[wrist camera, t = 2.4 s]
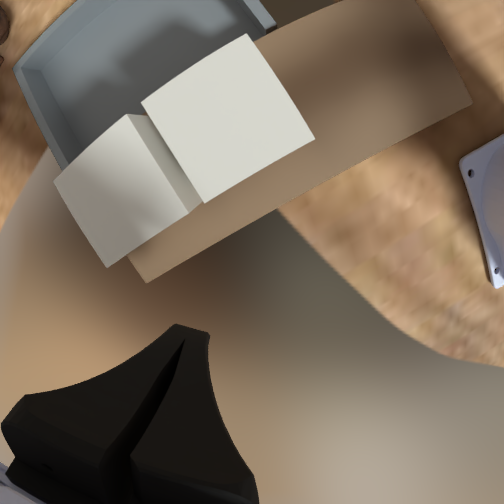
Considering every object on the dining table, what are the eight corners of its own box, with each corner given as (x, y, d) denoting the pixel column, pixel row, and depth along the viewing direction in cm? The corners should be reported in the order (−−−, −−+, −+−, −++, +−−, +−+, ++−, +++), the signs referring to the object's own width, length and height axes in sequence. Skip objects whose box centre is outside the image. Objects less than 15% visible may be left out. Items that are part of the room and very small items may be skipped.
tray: (277, 39, 14) (277, 24, 12) (88, 169, 17) (64, 175, 15) (199, -56, 12) (188, -76, 10) (36, 71, 15) (12, 68, 13)
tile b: (307, 138, 13) (315, 138, 10) (219, 189, 14) (204, 203, 12) (253, 53, 12) (246, 33, 9) (167, 107, 13) (140, 102, 10)
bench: (446, 106, 14) (473, 103, 12) (164, 262, 19) (146, 283, 16) (384, 1, 13) (400, -19, 10) (102, 165, 17) (74, 172, 15)
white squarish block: (206, 197, 14) (188, 213, 12) (134, 244, 16) (106, 268, 13) (155, 116, 13) (126, 113, 11) (88, 171, 14) (52, 181, 12)
